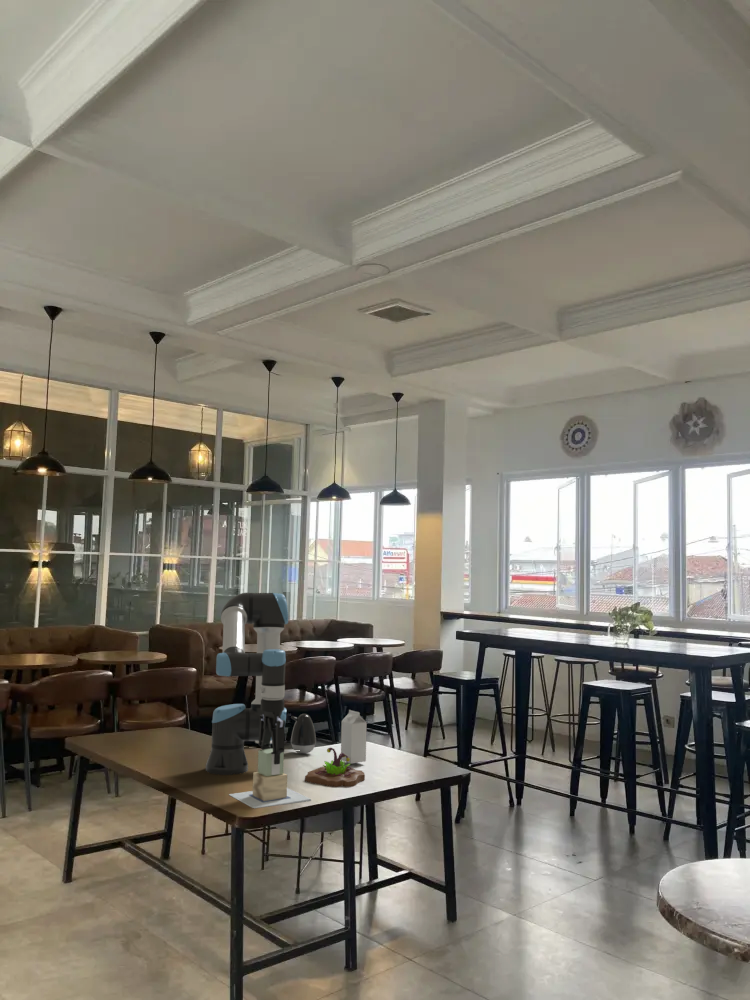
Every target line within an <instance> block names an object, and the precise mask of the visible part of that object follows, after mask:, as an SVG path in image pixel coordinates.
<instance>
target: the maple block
mask: <svg viewBox="0 0 750 1000" xmlns="http://www.w3.org/2000/svg"><path fill="white" fill-rule="evenodd" d="M252 775H253V776H252V791H253V796H255V797H257V798H259V799H261V800H263V801H267V800H273V799H280V798H287V788H288V774H286V773H284V772H283V774H281V775H273V776H264V775H262V774H260V773H258V771H256V772H255V771H254V772H252Z"/></svg>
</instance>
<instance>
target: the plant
mask: <svg viewBox="0 0 750 1000" xmlns="http://www.w3.org/2000/svg"><path fill="white" fill-rule="evenodd" d="M326 752H327V753H330V752H333V760H331V761H330V762H329V761H327V760H324V764H322V766H320V767H318V768H314V769H312V770H309V771H308V772H307V774H306V775H305V776H304V781H305V782H306V781H307V783H310V782H311V784H315V783H316V785H322V786H323V785H324V786H327V787H334V788H337V787H338V788H339V787H345V788H349V787H355V786H357V785H358V784H359V783H362V782H364V781H365V779H366V778H365V777H366V775H365V772H364V771H363V770H358V769H355V768H352V767H350V765H351V763H347V764H345V763H346V762H345V761H342V760H341V759H342V757H345V756H346V761H349V760H350V758H349V757H348V756H347V755H345V754H344V753H341V752H340V753H339V754H338V755H337V752H336V750H335V748H333V747H328V748H327V749H326ZM341 755H342V756H341Z"/></svg>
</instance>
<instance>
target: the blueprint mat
mask: <svg viewBox="0 0 750 1000" xmlns="http://www.w3.org/2000/svg"><path fill="white" fill-rule="evenodd" d="M228 796H230V797H231V798H233V799H235V800H236V801H240V802H241V803H242V804H244V805H246V806H248V807H250V808H252V809H253V808H254V809H260V808H268V807H274V806H275V807H276V806H281V805H282V806H283V805H289V804H291V805H292V804H298V803H305V802H306V801H307V802H311V801H312V799H311V797H308V796H306V795H304V794H301V793H300V792H298V791H296V790H293V789H292V788H290V787H287V798H280V799H273V800H267V801H263V800H261V799H259V798H257V797H255V796H253V790H250V791H248V790H247V791H243V792H235V793H229V794H228Z"/></svg>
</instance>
